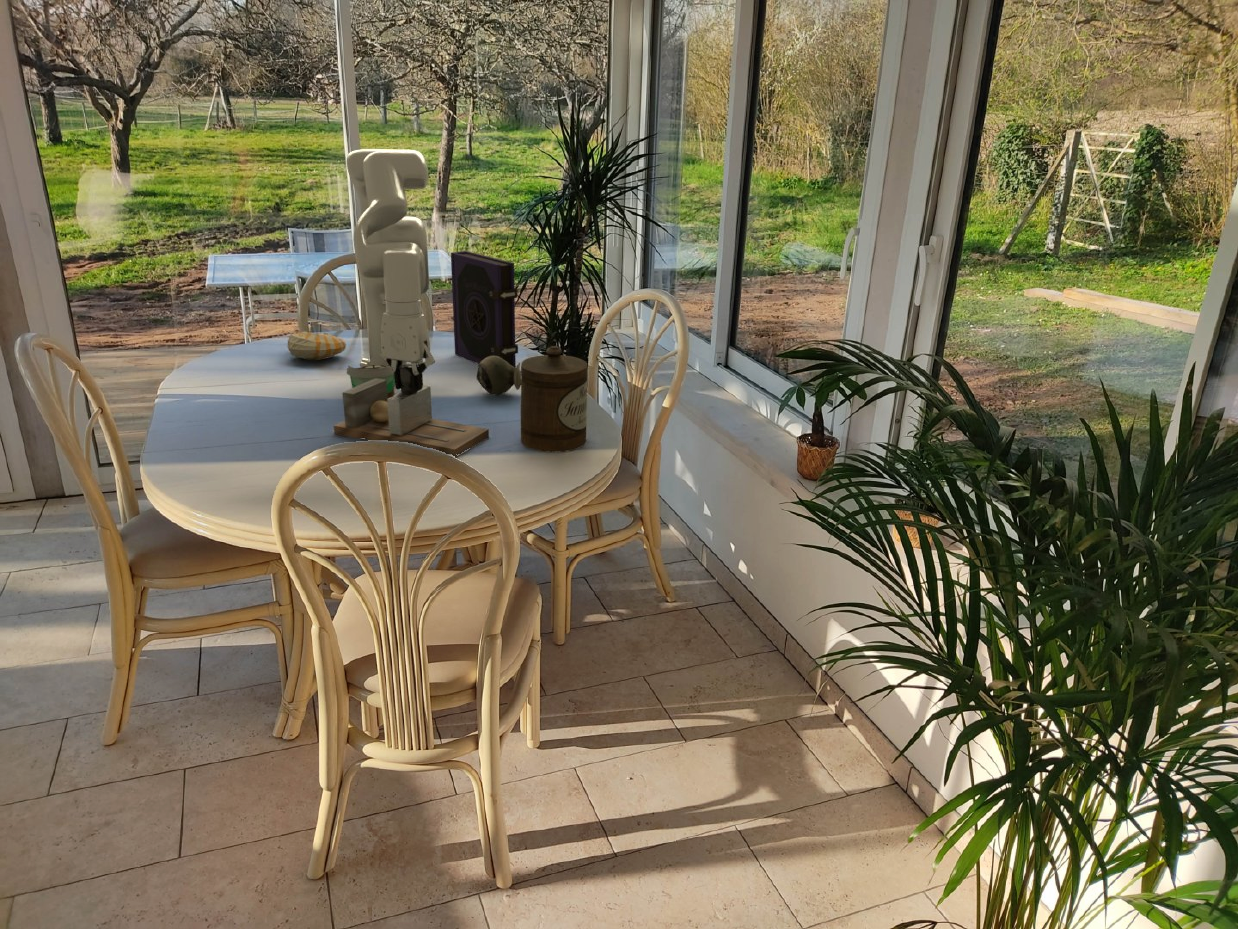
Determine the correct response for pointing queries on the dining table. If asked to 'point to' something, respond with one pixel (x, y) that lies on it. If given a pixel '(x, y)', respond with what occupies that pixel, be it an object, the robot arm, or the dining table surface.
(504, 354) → the book
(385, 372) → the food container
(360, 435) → the base
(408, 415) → the sliding jaw
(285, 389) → the dining table surface
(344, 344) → the nautilus
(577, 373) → the wooden container
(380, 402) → the walnut
